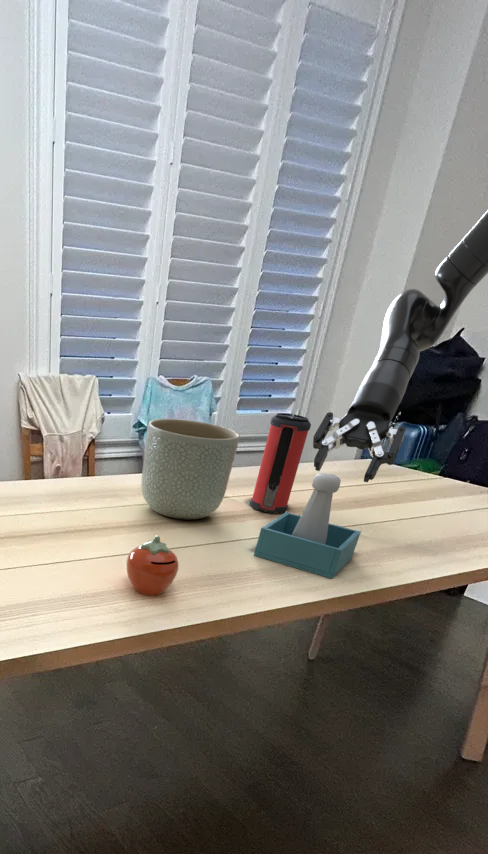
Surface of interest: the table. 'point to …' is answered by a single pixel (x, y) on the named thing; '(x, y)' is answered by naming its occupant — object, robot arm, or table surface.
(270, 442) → the speaker
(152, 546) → the tomato
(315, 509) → the salt shaker
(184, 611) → the table surface
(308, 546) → the bin
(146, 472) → the planter
